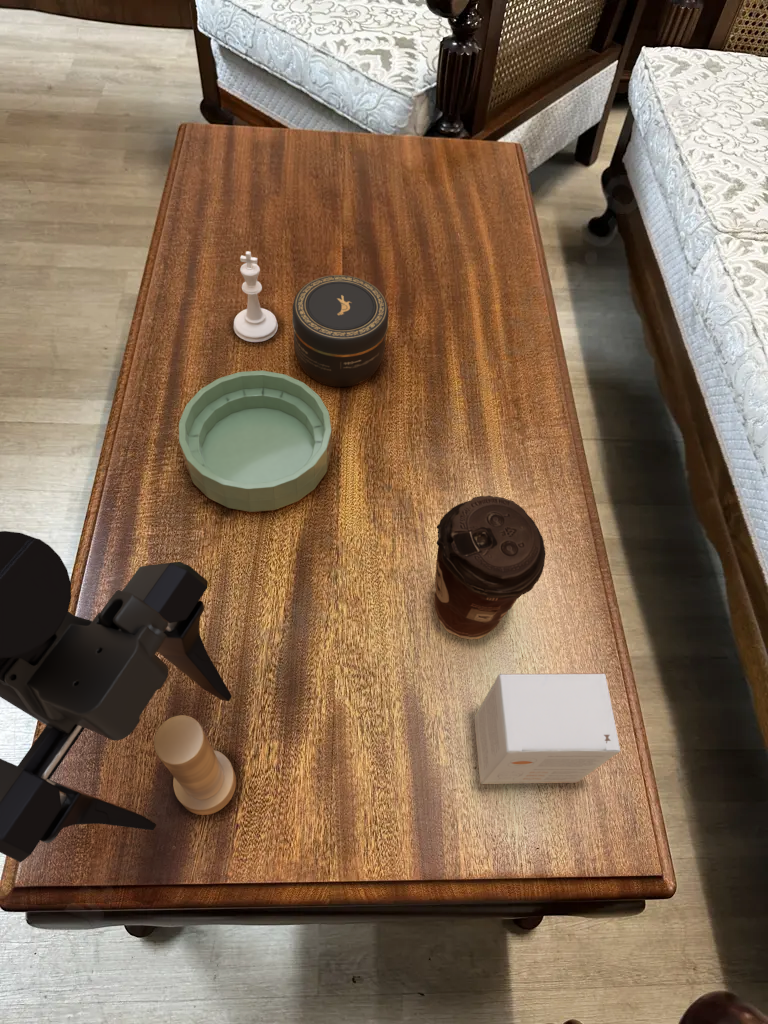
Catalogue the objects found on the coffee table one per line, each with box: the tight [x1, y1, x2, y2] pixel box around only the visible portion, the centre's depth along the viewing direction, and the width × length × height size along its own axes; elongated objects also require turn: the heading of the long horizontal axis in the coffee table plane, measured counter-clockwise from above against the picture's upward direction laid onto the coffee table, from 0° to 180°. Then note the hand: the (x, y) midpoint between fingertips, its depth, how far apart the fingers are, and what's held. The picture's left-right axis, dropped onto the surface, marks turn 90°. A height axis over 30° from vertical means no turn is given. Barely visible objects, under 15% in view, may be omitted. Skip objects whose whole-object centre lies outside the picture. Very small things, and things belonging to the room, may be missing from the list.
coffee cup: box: [433, 495, 546, 640], centre depth 59 cm, size 9×8×13 cm
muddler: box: [153, 714, 237, 816], centre depth 50 cm, size 4×4×13 cm
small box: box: [473, 672, 621, 785], centre depth 54 cm, size 8×6×10 cm
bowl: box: [178, 370, 332, 513], centre depth 70 cm, size 14×14×4 cm
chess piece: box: [233, 250, 279, 343], centre depth 77 cm, size 5×5×10 cm
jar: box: [291, 274, 389, 388], centre depth 77 cm, size 10×10×8 cm
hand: (191, 759), depth 48 cm, fingers open, 9 cm apart
